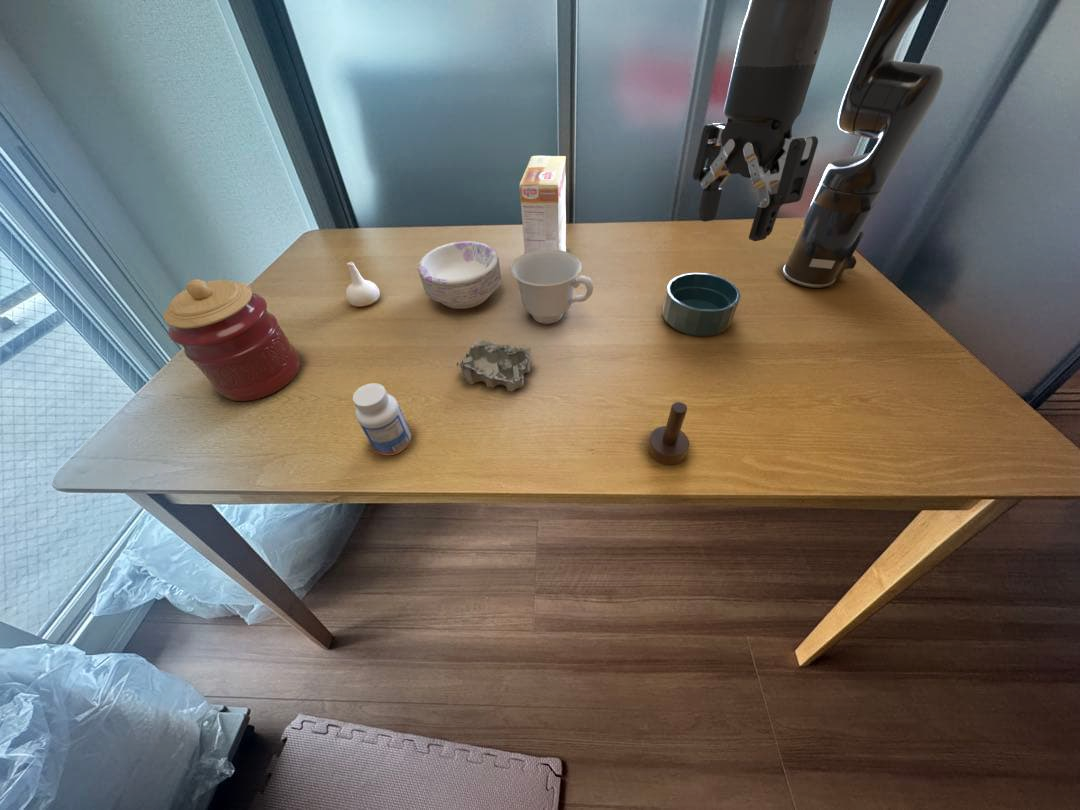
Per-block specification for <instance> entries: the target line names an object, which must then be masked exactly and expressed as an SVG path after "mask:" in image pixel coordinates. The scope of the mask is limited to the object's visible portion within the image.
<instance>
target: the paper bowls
mask: <svg viewBox="0 0 1080 810" xmlns="http://www.w3.org/2000/svg"><path fill="white" fill-rule="evenodd" d="M417 272H418V275H419V278H420V282H421V284H422V287H423V290H424V293H425V295H426V296H427V297H428V298H429V299H431V300H433V301H435V302H438V303H441V304H442V305H444V306H445V307H448V308H451V309H455V310H456V309H459V310H463V309H464V310H465V309H470V308H475V307H477V306H480V305H481V304H483V303H484V302H486V301H487V300H488V299H489V297H490V296H491V295H492V294H493V293H494V292H495V291H496V290H497V289H498V288H499V287H500V285H501V283H502V282H501V281H502V273H501V272H502V271H501V264H500V257H499V255H498V252H497V251H496V250H495V248H494V247H492V246H490V245H488V244H486V243H482V242H479V241H466V240H465V241H463V240H462V241H456V242H455V241H454V242H450V243H446V244H443V245H440V246H437V247H435V248H433V249H431V250H430V251H428V252H427V253H425V254H424V255H423V257H421V259H420V260H419V263H418V265H417Z"/></svg>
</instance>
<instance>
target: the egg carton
mask: <svg viewBox="0 0 1080 810" xmlns="http://www.w3.org/2000/svg"><path fill="white" fill-rule="evenodd" d="M531 351H532V349H531V347H521V348H518V347H516V346H511V345H510V344H502V343H494V342H492V341H489V340H483V339H482V340H479V341H476V342H475V343H473V344H471V346H470V347H469V349H468V351H467V352H466V353H465V356H464V359H460V360H459V361H458V362H456V366H460V369H461V374H462V378H463V379H465V380H466V383H467V384H469V385H474V384H476V383H477V382H484V383H485V384H486V385H485V386H486V387H487V388H495V387H496V386H499V385H503V386H505V387H506V391H508V392H514V391H515V390H517V389H519V388H523V387H524V385H525V378H524V377H525V376H524V374H526V373H527V374H528V373H530V370H531V363H530V362H531V361H530V358H531V354H532V353H531Z"/></svg>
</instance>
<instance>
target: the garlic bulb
mask: <svg viewBox="0 0 1080 810" xmlns="http://www.w3.org/2000/svg"><path fill="white" fill-rule="evenodd" d="M346 265H347V266H348V269H349V274H350V278H351V282H350V284H349V285H348V286H347V288H346V289H345V297H346V301H347V302H348V303H349V304H350V305H352V306H353V307H366V306H370V305H372V304H374V303H375V302H377V301H378V300H379V298H380V295H381V292H380V289H379V287H378V286H377V285H376V283H375V282H373V281H371V280H369V279H364V277H363V276H362V275H361V273H360V271H359V270H358V268H357V267H356V265H355V263H354V261H349V262H347V263H346Z"/></svg>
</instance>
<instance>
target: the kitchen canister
mask: <svg viewBox="0 0 1080 810" xmlns="http://www.w3.org/2000/svg"><path fill="white" fill-rule="evenodd" d="M267 309H268V304H267V300H266V299H265V298H264V297H263V296H261V295H260V294H257V293H254V292H253V290H252V288H251V287H250V286H249V285H248V284H246V283H244V282H239V281H231V280H227V279H215V280H208V281H204V280H202V279H191V280H189V281H188V282H187V283H186V288H185V289H183V290H182V291H180V292H179V293H178V294H176V295H175V296H174V297H173V298H172V300H170V303H169V305H168V306H167V307H166V309H165V310H164V313H163V320H164V322H165V323H166V324H167V325H168V326H169V327H168V337H169V339H170V340H172V341H173V342H174V343H175V344H178V345H181V346H182V347H183V351H184V354H185V356H186V357H187V359H188V360H190V361H192V362H193V363H194V364H195V366H196V367H197V368H198V369H199V370H200V371H201V373H202V374H203V375H204V376H205V378H206V379H207V380H208V381H209V382H210V385H211V386H212V387H213V389H214V390H216V392H217V393H219V394H220V395H222V396H223V397H224V398H226V399H228V400H231V401H235V402H247V401H254V400H255V401H256V400H258V399H262V398H265V397H267V396H270V395H272V394H274V393H276V392H278V391H279V390H282V389H283V388H285V387H286V386H287V385H288V384H289V383H290V382H291V381H292V380H293V379H294V378H295V377H296V375H298V372H299V370H300V366H301V361H300V358H299V353H298V351H297V349H296V348H295V346H294V345H293V344H292V343H291V342H290V341H289V339H288V337H287V336H286V334H285V332H284V331H283V329H282V328H281V326H280V325H279V323H278V319H277V317H276V316H275V315H274V314H272V313H271V312H270V311H268V310H267Z"/></svg>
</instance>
